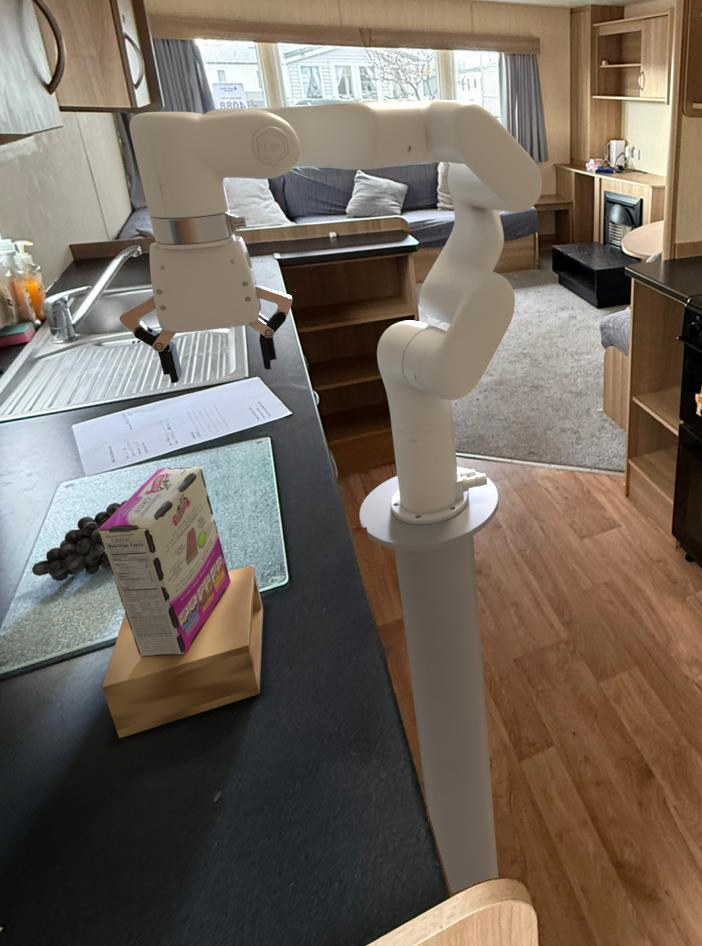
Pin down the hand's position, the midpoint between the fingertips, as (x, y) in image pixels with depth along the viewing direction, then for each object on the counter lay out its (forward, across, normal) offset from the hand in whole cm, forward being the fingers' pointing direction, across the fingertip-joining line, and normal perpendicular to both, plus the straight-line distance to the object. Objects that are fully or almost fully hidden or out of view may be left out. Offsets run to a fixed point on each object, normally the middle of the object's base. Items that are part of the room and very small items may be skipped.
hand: (223, 371), depth 78 cm
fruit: (+32, +21, -14) cm, 40 cm away
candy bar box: (+24, +7, +12) cm, 28 cm away
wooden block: (+31, +7, +12) cm, 34 cm away
